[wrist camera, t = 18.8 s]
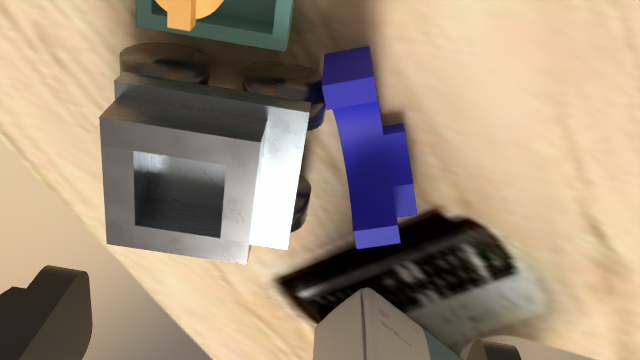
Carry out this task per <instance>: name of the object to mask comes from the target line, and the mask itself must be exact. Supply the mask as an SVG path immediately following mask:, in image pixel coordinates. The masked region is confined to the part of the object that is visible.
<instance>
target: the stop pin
mask: <svg viewBox="0 0 640 360" xmlns="http://www.w3.org/2000/svg"><path fill="white" fill-rule="evenodd" d="M155 1H156V2H157V3H158V4H159V5H160V6H161V7H162V8H163V9H164V10H166V11H167V27H169V28H174V29H180V30H186V31H191V30H192V28H193V27H194V26H195V24H196V19H199V18H203V17H205V16H208V15H209V14H211V13H212V12H214V11H215V10H216V9H217V8H218V7H219V6H220V4H221V3H222V2H223V1H224V0H155Z"/></svg>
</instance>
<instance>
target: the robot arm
mask: <svg viewBox="0 0 640 360" xmlns="http://www.w3.org/2000/svg"><path fill="white" fill-rule="evenodd" d="M91 333H92V311H91V299H90V285H89V276H88V274H87V272H85V271H80V270H74V269H68V268H62V267H56V266H50V265H48V266H45V267H44V268H43V269H42V270H41V271H40V272H39V273H38V274H37V276H36V277H35V278H34V280H33V281H32V282H31V283H30V284H29V286H28V287H27V288H26V289H25V288H19V287H11V288H10V289H8V290H7V291H5V292H4V293H2V294H0V360H82V358H83V357H84V354H85V352H86V350H87V348H88V345H89V342H90V338H91ZM466 360H521V358H520V355H519V352H518V350H517V348H516V347H515V346H513V345H507V344H501V343H495V342H489V341H484V340H476V341H475V342H474V343H473V345H472V347H471V350H470V352H469V355H468V356H467V359H466Z"/></svg>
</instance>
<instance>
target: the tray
mask: <svg viewBox="0 0 640 360" xmlns="http://www.w3.org/2000/svg"><path fill="white" fill-rule="evenodd" d="M294 2H295V0H224V1H223V2H222V3H221V4H220V6H219V7H218V8H217V9H216V10H215V11H214V12H212V13H211V14H209V15H208V16H205V17H203V18H199V19H196V24H195V26H194V27H193V28H192V30H191V31H186V30H180V29H174V28H169V27H167V11H166V10H164V9H163V8H162V7H161V6H160V5H159V4H158V3H157V2H156V1H155V0H136V27H141V28H147V29H153V30H159V31H165V32H171V33H177V34H183V35H189V36H194V37H200V38H206V39H212V40H218V41H224V42H230V43H236V44H242V45H247V46H253V47H259V48H265V49H271V50H277V51H283V52H285V51H286V48H287V45H288V42H289V38H290V33H291V25H292V17H293V10H294Z"/></svg>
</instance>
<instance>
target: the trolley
mask: <svg viewBox="0 0 640 360" xmlns="http://www.w3.org/2000/svg"><path fill="white" fill-rule="evenodd" d="M322 77H323V75H322V74H320V73H319V72H317V71H315V70H312V69H309V68H307V67H303V66H300V65H295V64H290V63H282V62H263V63H257V64H253V65H250V66H248V67H247V68H246V69H245V70H244V72H243V82H242V91H239V90H233V89H227V88H221V87H215V86H210V79H211V59H210V57H209V56H208V55H206V54H205V53H203V52H201V51H199V50H197V49H194V48H191V47H187V46H182V45H177V44H169V43H144V44H138V45H133V46H130V47H127V48H125V49H124V50H122V51H121V53H120V76H119V77H118V78H117V79H116V80H115V81H114V85H115V101H114V102H113V103H112V104H111V105H110V106H109V107H108V108H107V109H106V110H105V112H104V113H103V114H102V115H101V116H100V117H99V119H100V136H101V153H102V170H103V187H104V204H105V221H106V238H107V244H110V245H117V246H124V247H130V248H137V249H144V250H150V251H157V252H164V253H171V254H177V255H184V256H191V257H197V258H204V259H211V260H217V261H224V262H231V263H238V264H244V265H247V261H248V257H249V253H250V248H251V244H253V245H259V246H266V247H273V248H279V249H286V250H287V247H288V241H289V235H290V233H291V232H294V231H296V230H298V229H299V228H300V227H301V226H302V225H303V224H304V223H305V220H306V216H307V210H308V205H309V199H310V194H311V186H310V183H309V182H308V180H307V179H306V178H305V177H304V176H303V175H301V174H300V168H301V162H302V156H303V150H304V144H305V137H306V131H309V130H313V129H315V128H318V127H319V126H320V125H321V124H322V123H323V121H324V116H325V111H326V104H325V99H324V95H323V90H322Z"/></svg>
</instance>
